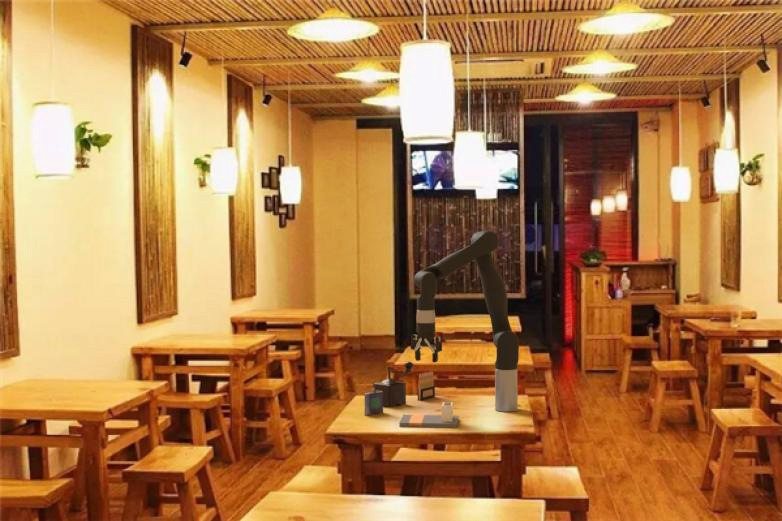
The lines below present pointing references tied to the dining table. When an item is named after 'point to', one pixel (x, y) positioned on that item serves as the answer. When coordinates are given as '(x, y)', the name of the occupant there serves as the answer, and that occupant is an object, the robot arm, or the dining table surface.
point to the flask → (373, 402)
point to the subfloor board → (427, 421)
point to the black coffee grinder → (393, 388)
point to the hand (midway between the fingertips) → (426, 361)
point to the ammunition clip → (426, 386)
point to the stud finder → (447, 411)
